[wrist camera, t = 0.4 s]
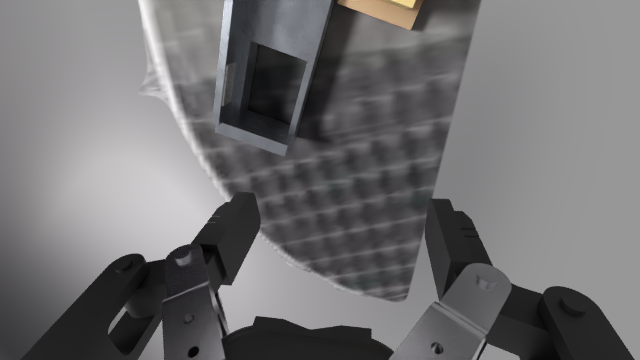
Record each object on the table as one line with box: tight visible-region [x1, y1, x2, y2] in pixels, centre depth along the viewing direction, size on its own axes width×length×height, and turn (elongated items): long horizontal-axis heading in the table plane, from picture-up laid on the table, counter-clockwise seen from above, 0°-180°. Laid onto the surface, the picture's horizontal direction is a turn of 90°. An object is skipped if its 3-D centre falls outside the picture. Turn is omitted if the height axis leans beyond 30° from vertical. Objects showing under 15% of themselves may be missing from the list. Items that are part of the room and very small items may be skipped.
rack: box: [212, 0, 335, 156], centre depth 29 cm, size 24×9×7 cm, turn 163°
